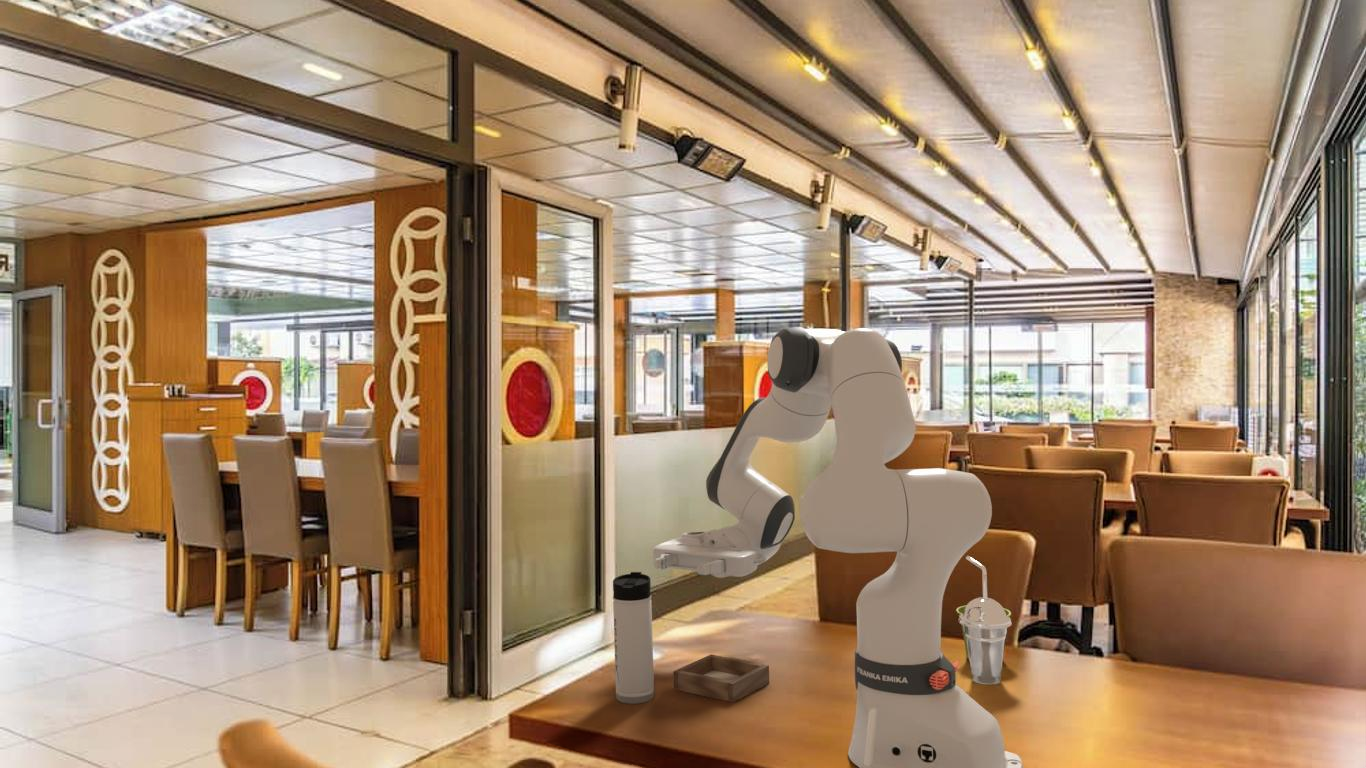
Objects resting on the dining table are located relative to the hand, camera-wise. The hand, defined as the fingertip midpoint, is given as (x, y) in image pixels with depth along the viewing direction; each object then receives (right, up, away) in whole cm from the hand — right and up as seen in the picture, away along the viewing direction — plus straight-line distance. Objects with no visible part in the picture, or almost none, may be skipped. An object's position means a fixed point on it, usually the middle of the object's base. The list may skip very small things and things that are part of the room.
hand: (679, 567), depth 163 cm
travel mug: (-7, -19, -11) cm, 23 cm away
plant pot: (+55, -17, +4) cm, 58 cm away
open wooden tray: (+7, -19, -6) cm, 21 cm away
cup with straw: (+52, -18, -7) cm, 55 cm away
